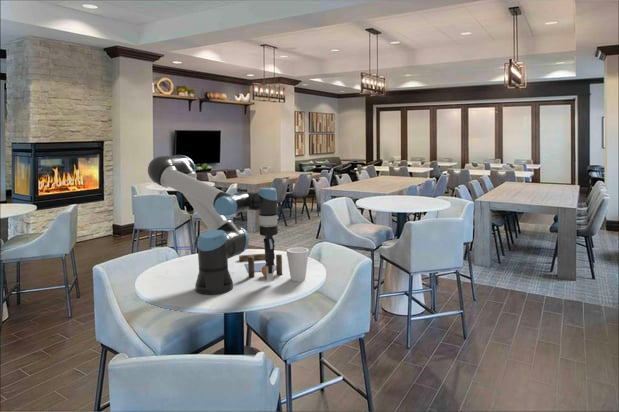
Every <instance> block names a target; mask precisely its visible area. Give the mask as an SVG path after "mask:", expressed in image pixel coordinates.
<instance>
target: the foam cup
mask: <svg viewBox="0 0 619 412" xmlns="http://www.w3.org/2000/svg"><path fill="white" fill-rule="evenodd" d="M286 257H287V261H288V269H289V276H290V280H291V281H292V282H303V281H305V280H306V277H307V268H308V261H309V249H308V248H307V247H298V246H297V247H290V248H287V249H286Z"/></svg>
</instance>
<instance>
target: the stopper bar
mask: <svg viewBox="0 0 619 412" xmlns="http://www.w3.org/2000/svg"><path fill="white" fill-rule="evenodd" d="M250 256H253V257H254V261H260V260H261V261H263V260H265V253H256V254H254V253H253V254H239V255H238V260H239V262H246V261H247V262H248V257H250ZM274 260H276V254H275V253H274Z"/></svg>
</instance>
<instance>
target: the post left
mask: <svg viewBox="0 0 619 412" xmlns="http://www.w3.org/2000/svg"><path fill="white" fill-rule="evenodd" d="M254 263H255V260H254V257H253V256H250V257H248V261H247V264H248V271H247V273H248V278H251V279H253V278H255V272H254Z"/></svg>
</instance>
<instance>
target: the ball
mask: <svg viewBox="0 0 619 412" xmlns="http://www.w3.org/2000/svg"><path fill="white" fill-rule="evenodd" d="M261 274H262V275H263V276H264V277H266V278H267V276H266V266H265V265H264V266H263V267H262V271H261ZM273 274H275V270H274V268H273Z"/></svg>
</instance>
